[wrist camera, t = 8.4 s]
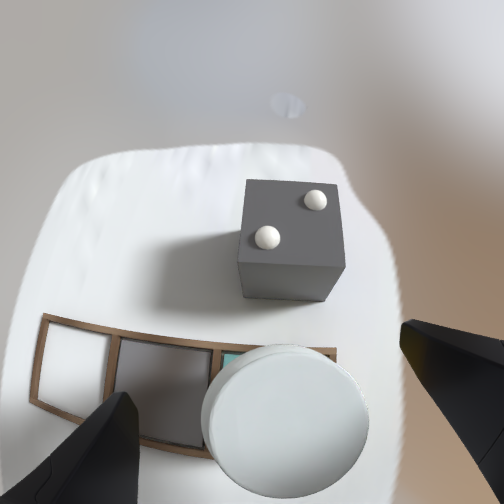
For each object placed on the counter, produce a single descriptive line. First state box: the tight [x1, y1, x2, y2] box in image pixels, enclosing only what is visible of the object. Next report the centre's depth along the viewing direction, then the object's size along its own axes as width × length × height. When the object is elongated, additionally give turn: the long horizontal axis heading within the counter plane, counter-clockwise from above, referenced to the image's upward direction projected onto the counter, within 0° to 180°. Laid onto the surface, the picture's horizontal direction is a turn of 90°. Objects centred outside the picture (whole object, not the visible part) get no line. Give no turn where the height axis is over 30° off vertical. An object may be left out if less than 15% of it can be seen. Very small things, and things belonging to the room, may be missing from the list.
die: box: [238, 179, 346, 301], centre depth 16 cm, size 5×5×6 cm
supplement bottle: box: [201, 344, 369, 499], centre depth 10 cm, size 5×5×10 cm
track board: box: [29, 313, 337, 460], centre depth 15 cm, size 20×7×1 cm, turn 86°
